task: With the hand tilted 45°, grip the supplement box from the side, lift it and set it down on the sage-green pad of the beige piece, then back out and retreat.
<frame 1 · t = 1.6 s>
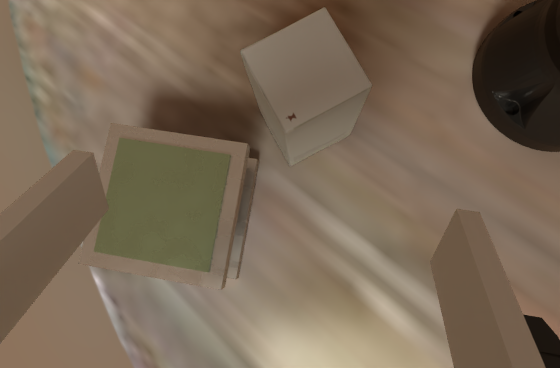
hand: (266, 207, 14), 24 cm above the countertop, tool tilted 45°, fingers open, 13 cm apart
beige piece: (192, 209, 38), on the countertop
supplement box: (304, 122, 39), on the countertop
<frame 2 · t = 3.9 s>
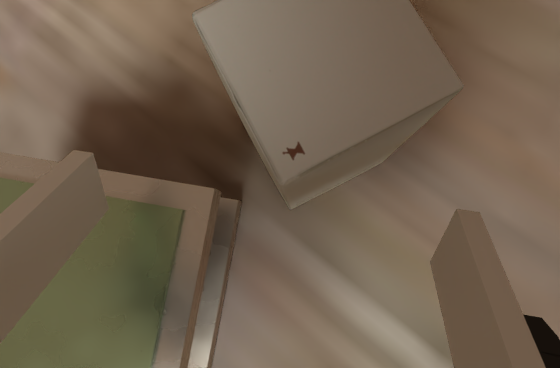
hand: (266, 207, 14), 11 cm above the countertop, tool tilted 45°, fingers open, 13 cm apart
beige piece: (138, 274, 24), on the countertop
supplement box: (312, 141, 25), on the countertop
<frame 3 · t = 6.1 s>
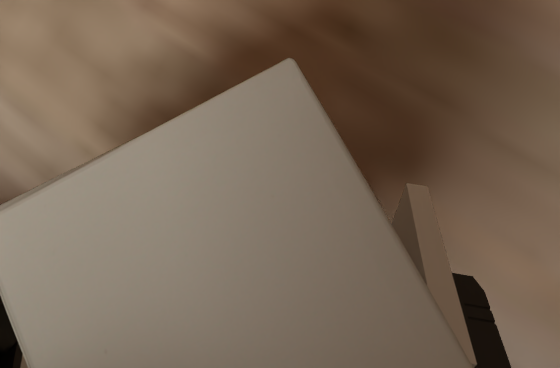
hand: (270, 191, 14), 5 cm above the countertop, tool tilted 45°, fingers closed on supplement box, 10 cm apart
supplement box: (269, 259, 19), on the countertop, touching gripper
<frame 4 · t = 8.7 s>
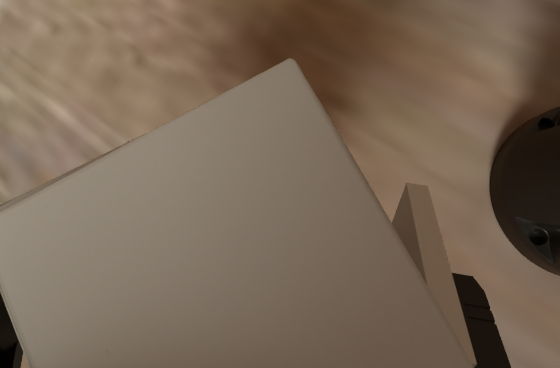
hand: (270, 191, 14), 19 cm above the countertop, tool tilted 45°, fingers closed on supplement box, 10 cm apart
supplement box: (269, 259, 19), point 14 cm above the countertop, touching gripper
when the fingers open (15 cm above the countertop, at t = 11.1 s): supplement box drops 1 cm, resting on beige piece.
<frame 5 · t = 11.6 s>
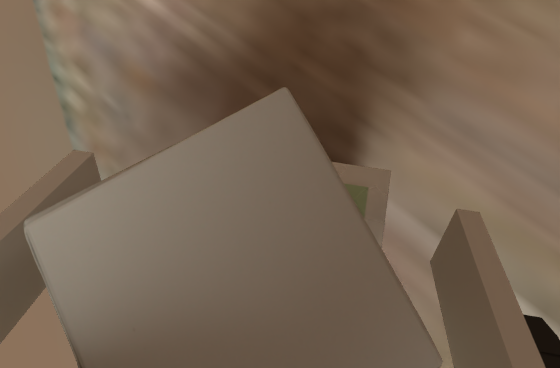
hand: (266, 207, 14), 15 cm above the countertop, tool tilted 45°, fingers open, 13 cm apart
beige piece: (279, 251, 29), on the countertop
supplement box: (268, 257, 21), point 8 cm above the countertop, touching beige piece
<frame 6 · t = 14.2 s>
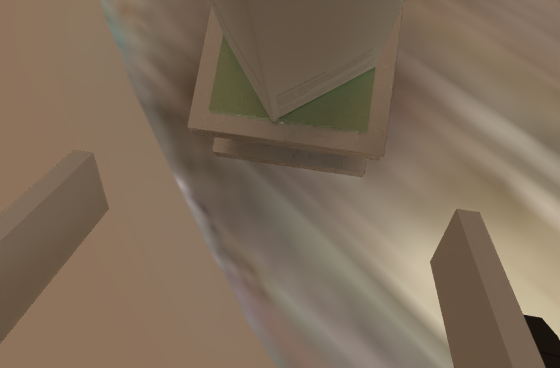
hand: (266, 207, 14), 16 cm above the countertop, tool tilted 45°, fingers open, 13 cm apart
beige piece: (298, 96, 31), on the countertop
supplement box: (296, 47, 23), point 8 cm above the countertop, touching beige piece
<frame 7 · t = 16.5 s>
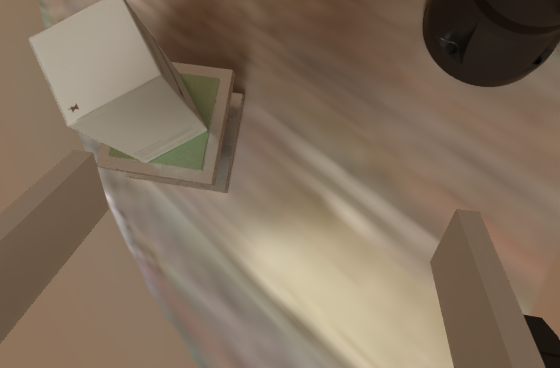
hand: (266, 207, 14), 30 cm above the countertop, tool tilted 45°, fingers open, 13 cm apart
beige piece: (188, 138, 45), on the countertop
supplement box: (163, 117, 37), point 8 cm above the countertop, touching beige piece
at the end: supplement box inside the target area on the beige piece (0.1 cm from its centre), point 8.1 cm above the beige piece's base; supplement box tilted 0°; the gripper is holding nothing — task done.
